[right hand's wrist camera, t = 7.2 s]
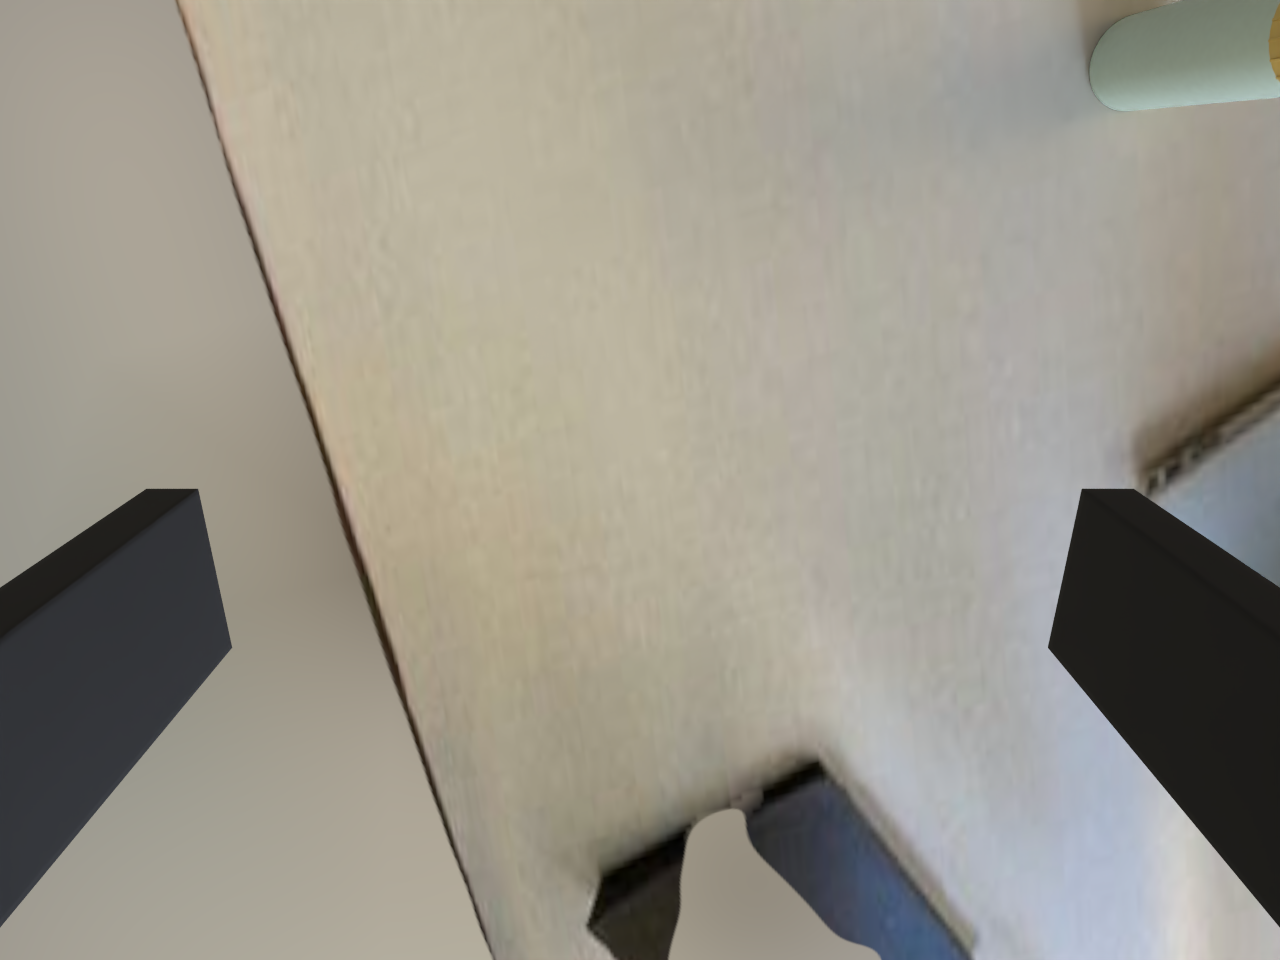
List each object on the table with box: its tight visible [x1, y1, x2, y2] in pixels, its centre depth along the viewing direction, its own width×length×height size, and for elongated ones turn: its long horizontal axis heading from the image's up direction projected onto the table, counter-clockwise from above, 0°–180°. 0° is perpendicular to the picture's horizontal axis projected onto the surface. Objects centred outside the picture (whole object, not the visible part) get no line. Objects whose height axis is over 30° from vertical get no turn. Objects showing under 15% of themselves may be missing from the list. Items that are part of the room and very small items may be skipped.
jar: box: [1089, 0, 1280, 111], centre depth 39 cm, size 5×5×17 cm
